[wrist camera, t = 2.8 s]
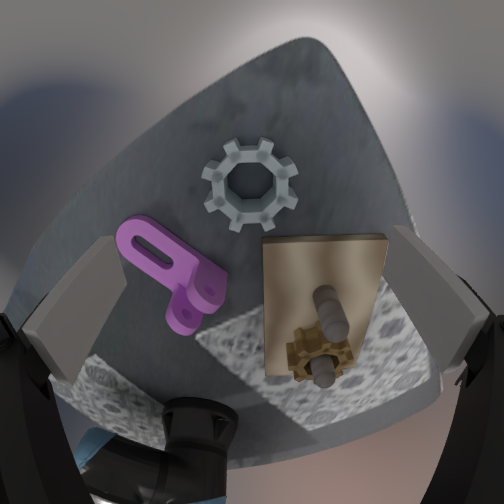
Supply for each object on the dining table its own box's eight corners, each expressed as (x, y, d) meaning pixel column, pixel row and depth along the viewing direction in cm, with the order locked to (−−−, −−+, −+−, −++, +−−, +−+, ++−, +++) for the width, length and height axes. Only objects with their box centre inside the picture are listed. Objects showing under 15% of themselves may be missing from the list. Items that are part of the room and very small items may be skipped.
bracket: (228, 272, 32) (223, 312, 26) (200, 301, 34) (191, 341, 28) (134, 204, 28) (106, 231, 21) (113, 240, 30) (86, 272, 23)
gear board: (264, 368, 40) (267, 417, 32) (262, 237, 29) (266, 285, 22) (352, 360, 40) (366, 405, 32) (383, 233, 29) (420, 275, 21)
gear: (212, 218, 28) (206, 234, 25) (205, 139, 24) (198, 143, 21) (291, 215, 28) (297, 230, 25) (291, 135, 24) (298, 139, 21)
